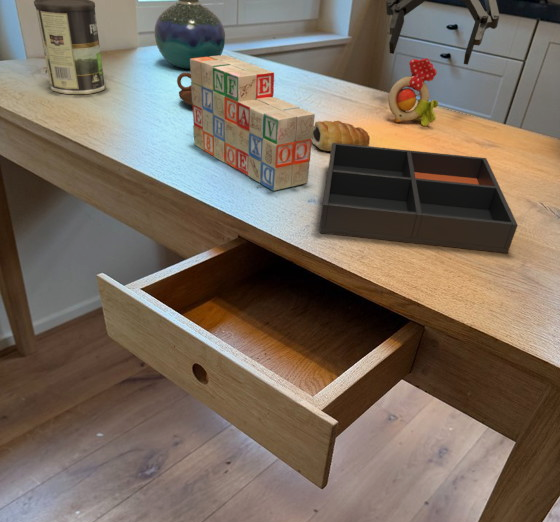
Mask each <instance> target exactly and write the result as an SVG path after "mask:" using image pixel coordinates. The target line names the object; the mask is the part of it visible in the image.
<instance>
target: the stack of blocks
mask: <svg viewBox="0 0 560 522" xmlns="http://www.w3.org/2000/svg"><path fill="white" fill-rule="evenodd" d="M189 70H190V73H191V79H190V86H191V91H192V103H193V106H192V118H193V119H192V120H193V125H192V129H193V143H194V146H196V147H198V148H199V149H201V150H203V152H205V153H207V154H209V155H211V156H213V157H214V158H216V160H219V161H221V162H223V163H224V164H227V165H229V166H231V167H232V168H234V169H235V170H238V171H239V172H241V173H243V174H245V175H246V176H248V177H249V178H250V179H253V180H254V181H256V182H257V183H260V184H261V185H263V186H264V187H266V188H268V189H270V190H271V191H279V190H283V189H287V188H290V187H295V186H300V185H304V184H308V183H309V173H310V161H311V154H312V153H311V152H312V137H313V129H314V125H315V116H316V114H315V113H314V112H312V111H310V110H306V109H304V108H301V107H300V106H298V105H296V104H293V103H290V102H288V101H286V100H283V99H280V98H278V97H275V96H274V91H275V89H274V88H275V72H274V71H271V70H268V69H266V68H264V67H260V66H258V65H256V64H253V63H249V62H246V61H243V60H241V59H237V58H235V57H233V56H230V55H227V54H221V56H209V57H200V58H191V59H190V69H189Z"/></svg>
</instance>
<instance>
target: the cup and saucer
mask: <svg viewBox="0 0 560 522" xmlns="http://www.w3.org/2000/svg"><path fill="white" fill-rule="evenodd" d="M183 78H188V79H190V80H191V72H181V73H179V75H178V76H177V79H176V84H177V86H178V88H179V89H180V91H179V92H178V96H179V99H181V101H182V102H183V103H185V104H186V105H188V106H191V107H193V103H192V91H191V85H189V86H184V85H183V84H182V79H183Z"/></svg>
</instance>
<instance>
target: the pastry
mask: <svg viewBox="0 0 560 522" xmlns="http://www.w3.org/2000/svg"><path fill="white" fill-rule="evenodd" d="M370 140H371V139H370V136H369V133H368V131H366V130H365V129H364V128H362V127H361V126H357V127H355V126H354V125H353V124H350V123H346V122H342V121H341V120H334V121H331V120H323V121H319V120H318V121H314V129H313V137H312V142H311V144H313V145H314V146H316V147H317V148H318V149H319V150H321V151H325V152H331V147H332V143H340V144H350V145H360V146H370Z"/></svg>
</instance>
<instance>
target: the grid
mask: <svg viewBox="0 0 560 522" xmlns="http://www.w3.org/2000/svg"><path fill="white" fill-rule="evenodd" d="M327 169H328V170H327V175H326V181H325V188H324V195H323V201H322V209H321V217H320V226H319V234H326V235H336V236H346V237H354V238H362V239H371V240H373V239H374V240H383V241H391V242H392V241H393V242H402V243H410V244H419V245H426V246H427V245H428V246H438V247H447V248H455V249H456V248H457V249H464V250H474V251H483V252H492V253H502V254H508V253H509V250H510V248H511V245H512V242H513V239H514V237H515V234H516V230H517V229H518V223H517V221H516V219H515V217H514V214H513V211H512V209H511V208H510V206H509V203H508V200H507V199H506V197H505V195H504V192H503V191H502V188H501V187H500V184H499V183H498V180H497V177H496V176H495V173H494V172H493V170H492V168H491V165H490V163H489V161H488V159H487V158H486V157H478V156H469V155H458V154H450V153H440V152H439V153H437V152H430V151H429V152H428V151H419V150H410V149H400V148H399V149H398V148H389V147H379V146H370V145H368V146H360V145H350V144H340V143H332V147H331V151H330V153H329V161H328V168H327Z"/></svg>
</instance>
